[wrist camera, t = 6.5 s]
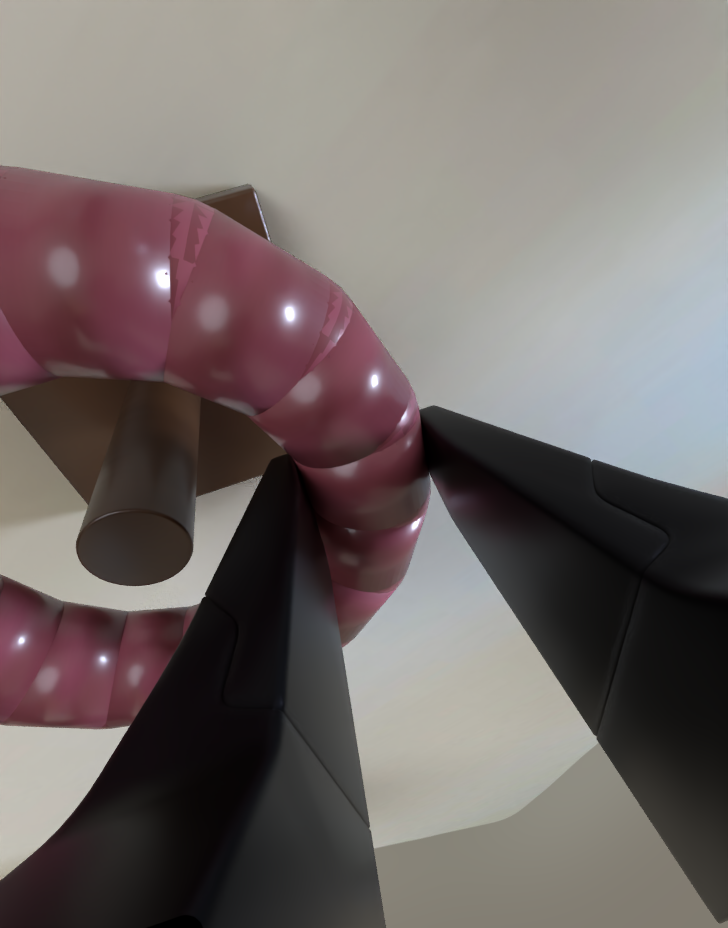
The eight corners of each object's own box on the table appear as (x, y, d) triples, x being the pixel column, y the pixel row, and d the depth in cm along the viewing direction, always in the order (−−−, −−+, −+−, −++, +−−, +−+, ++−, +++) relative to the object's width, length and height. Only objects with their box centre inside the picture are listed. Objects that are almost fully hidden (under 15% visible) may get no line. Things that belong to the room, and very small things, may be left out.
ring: (51, 698, 12) (19, 802, 10) (-505, 299, 6) (-886, 382, 4) (431, 567, 13) (467, 641, 11) (340, 75, 6) (390, 47, 4)
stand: (112, 505, 16) (49, 730, 10) (-69, 271, 11) (-417, 437, 5) (329, 433, 17) (395, 604, 10) (251, 182, 12) (290, 232, 6)
